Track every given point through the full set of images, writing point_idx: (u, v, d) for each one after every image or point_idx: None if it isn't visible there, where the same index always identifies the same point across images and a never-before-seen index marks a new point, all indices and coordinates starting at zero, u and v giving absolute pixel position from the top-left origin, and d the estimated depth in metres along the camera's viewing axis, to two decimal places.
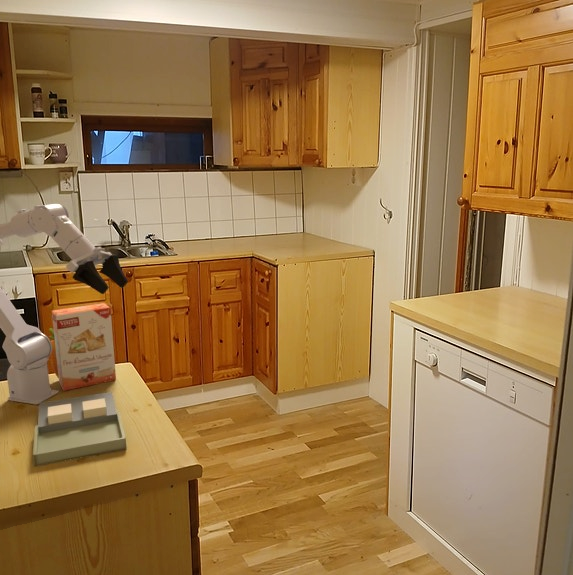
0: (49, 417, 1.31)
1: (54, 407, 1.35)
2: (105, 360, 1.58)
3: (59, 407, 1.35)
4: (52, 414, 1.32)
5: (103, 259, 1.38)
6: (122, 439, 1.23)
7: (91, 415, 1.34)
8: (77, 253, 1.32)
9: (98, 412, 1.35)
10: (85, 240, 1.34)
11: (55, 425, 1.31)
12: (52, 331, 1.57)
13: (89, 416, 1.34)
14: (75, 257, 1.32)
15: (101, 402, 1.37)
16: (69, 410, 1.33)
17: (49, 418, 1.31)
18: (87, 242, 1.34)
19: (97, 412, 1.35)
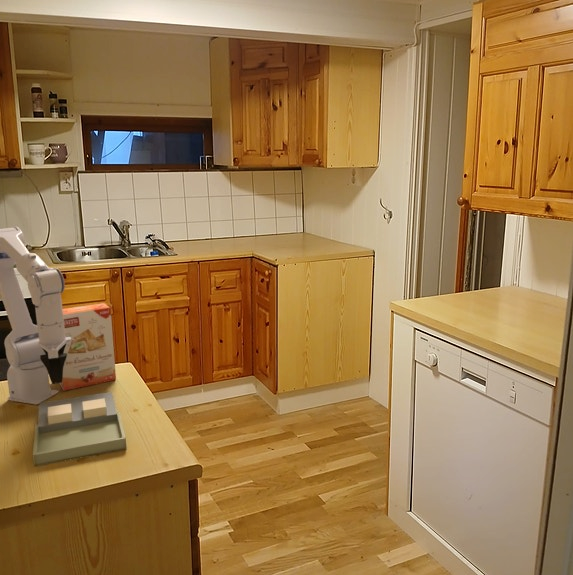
0: (49, 417, 1.31)
1: (54, 407, 1.35)
2: (105, 360, 1.58)
3: (59, 407, 1.35)
4: (52, 414, 1.32)
5: None
6: (122, 439, 1.23)
7: (91, 415, 1.34)
8: (54, 336, 1.34)
9: (98, 412, 1.35)
10: None
11: (55, 425, 1.31)
12: None
13: (89, 416, 1.34)
14: (49, 337, 1.33)
15: (101, 402, 1.37)
16: (69, 410, 1.33)
17: (49, 418, 1.31)
18: (64, 328, 1.36)
19: (97, 412, 1.35)
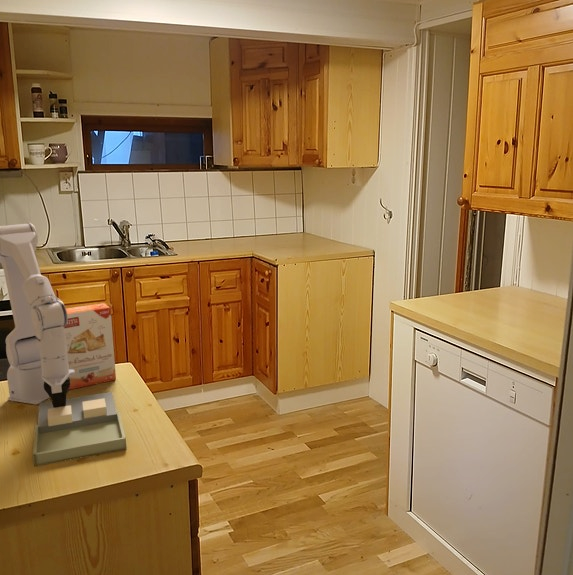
0: (49, 419, 1.30)
1: (54, 409, 1.34)
2: (105, 360, 1.58)
3: (59, 409, 1.34)
4: (52, 416, 1.31)
5: None
6: (122, 439, 1.23)
7: (91, 415, 1.34)
8: (57, 369, 1.32)
9: (98, 412, 1.35)
10: (67, 358, 1.34)
11: (55, 425, 1.31)
12: None
13: (89, 416, 1.34)
14: (52, 371, 1.31)
15: (101, 402, 1.37)
16: (69, 412, 1.33)
17: (49, 420, 1.30)
18: (67, 361, 1.35)
19: (97, 412, 1.35)
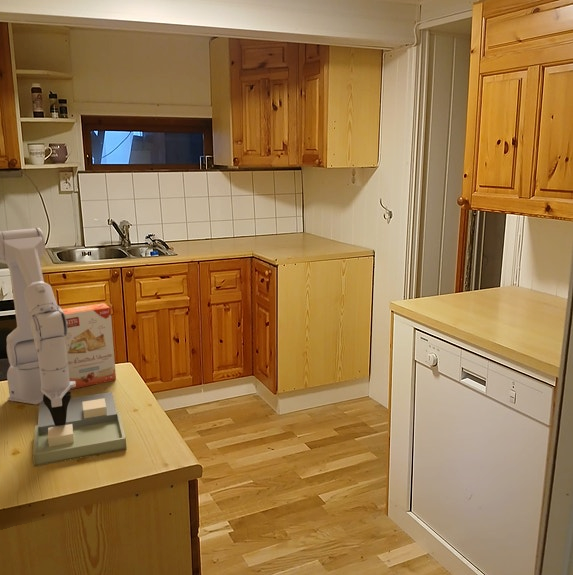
0: (49, 439, 1.24)
1: (55, 428, 1.29)
2: (105, 360, 1.58)
3: (60, 428, 1.29)
4: (52, 436, 1.25)
5: None
6: (122, 439, 1.23)
7: (91, 415, 1.34)
8: (57, 382, 1.25)
9: (98, 412, 1.35)
10: None
11: None
12: None
13: (89, 416, 1.34)
14: (52, 383, 1.25)
15: (101, 402, 1.37)
16: (70, 431, 1.27)
17: (49, 440, 1.25)
18: (68, 372, 1.28)
19: (97, 412, 1.35)
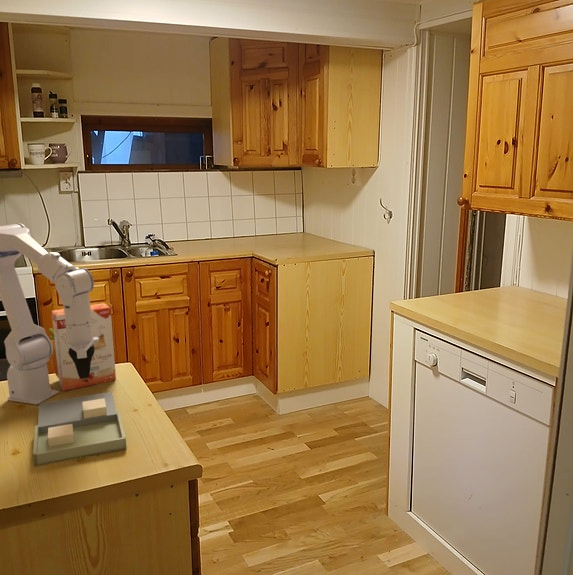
0: (49, 439, 1.24)
1: (55, 428, 1.29)
2: (105, 360, 1.58)
3: (60, 428, 1.29)
4: (52, 436, 1.25)
5: None
6: (122, 439, 1.23)
7: (91, 415, 1.34)
8: (82, 336, 1.34)
9: (98, 412, 1.35)
10: None
11: (55, 425, 1.31)
12: (52, 331, 1.57)
13: (89, 416, 1.34)
14: (77, 337, 1.33)
15: (101, 402, 1.37)
16: (70, 431, 1.27)
17: (49, 440, 1.25)
18: (92, 328, 1.36)
19: (97, 412, 1.35)
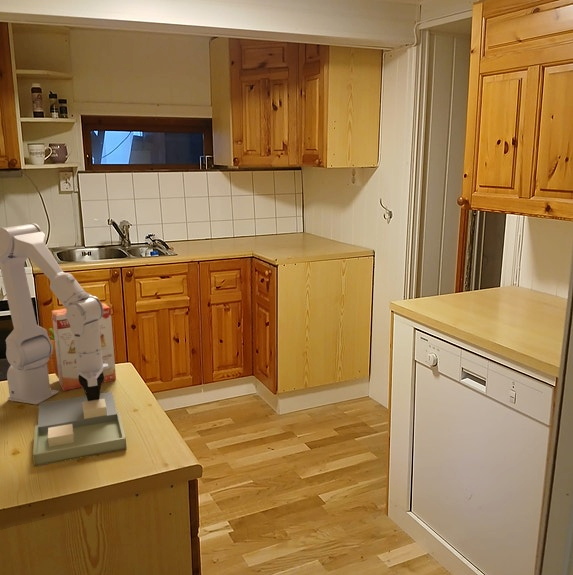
0: (49, 439, 1.24)
1: (55, 428, 1.29)
2: (105, 360, 1.58)
3: (60, 428, 1.29)
4: (52, 436, 1.25)
5: None
6: (122, 439, 1.23)
7: (91, 415, 1.34)
8: (92, 363, 1.35)
9: (98, 412, 1.35)
10: (101, 352, 1.38)
11: (55, 425, 1.31)
12: (52, 331, 1.57)
13: (89, 416, 1.34)
14: (88, 365, 1.35)
15: (101, 402, 1.37)
16: (70, 431, 1.27)
17: (49, 440, 1.25)
18: (101, 355, 1.38)
19: (97, 412, 1.34)
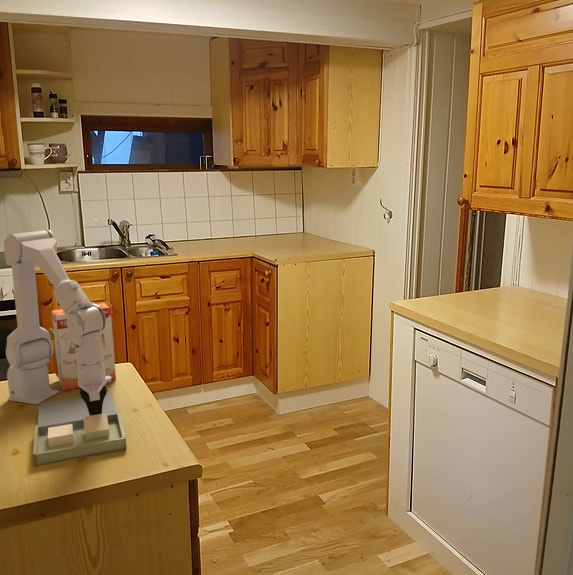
0: (49, 439, 1.24)
1: (55, 428, 1.29)
2: (105, 360, 1.58)
3: (60, 428, 1.29)
4: (52, 436, 1.25)
5: None
6: (122, 439, 1.23)
7: (93, 437, 1.28)
8: (94, 376, 1.28)
9: (100, 434, 1.28)
10: None
11: (55, 425, 1.31)
12: (52, 331, 1.57)
13: (91, 437, 1.28)
14: (89, 378, 1.27)
15: (103, 420, 1.30)
16: (70, 431, 1.27)
17: (49, 440, 1.25)
18: (104, 367, 1.30)
19: (99, 434, 1.28)
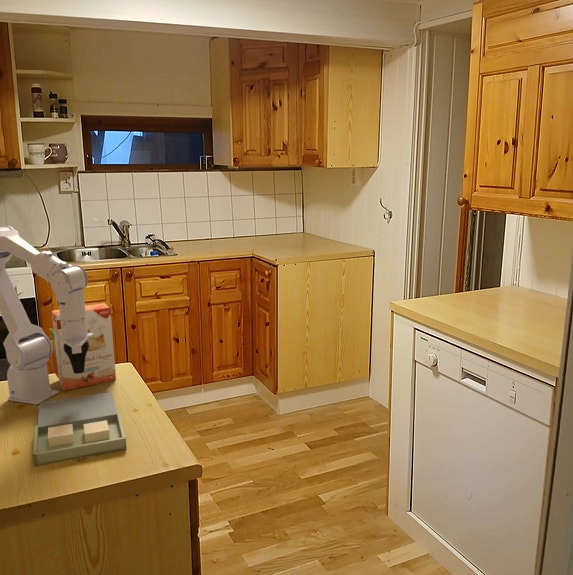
0: (49, 439, 1.24)
1: (55, 428, 1.29)
2: (105, 360, 1.58)
3: (60, 428, 1.29)
4: (52, 436, 1.25)
5: None
6: (122, 439, 1.23)
7: (93, 439, 1.27)
8: (77, 332, 1.36)
9: (100, 436, 1.27)
10: (86, 321, 1.39)
11: (55, 425, 1.31)
12: (52, 331, 1.57)
13: (91, 440, 1.27)
14: (72, 333, 1.36)
15: (104, 425, 1.30)
16: (70, 431, 1.27)
17: (49, 440, 1.25)
18: (86, 324, 1.39)
19: (99, 436, 1.27)
